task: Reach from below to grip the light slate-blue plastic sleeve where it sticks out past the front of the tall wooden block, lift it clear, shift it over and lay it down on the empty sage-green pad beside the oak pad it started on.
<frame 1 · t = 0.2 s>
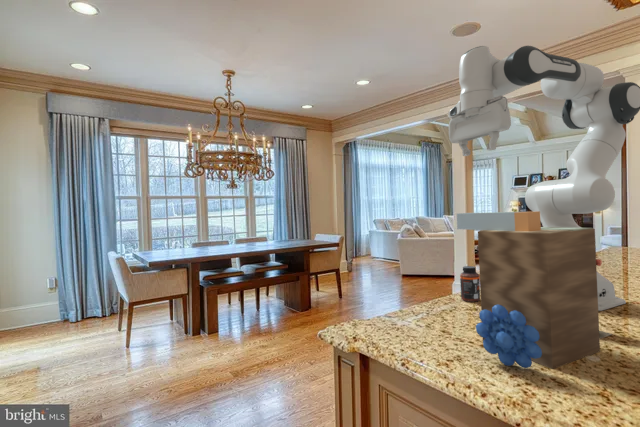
hand: (478, 153, 102), 47 cm above the kitchen island, tool pointing down, fingers open, 8 cm apart
condiment: (584, 333, 86), on the kitchen island
supplement bottle: (470, 300, 119), on the kitchen island
blue flower: (507, 368, 69), on the kitchen island
sleeve: (495, 229, 82), point 26 cm above the kitchen island, touching tall wooden block
tall wooden block: (538, 346, 78), on the kitchen island
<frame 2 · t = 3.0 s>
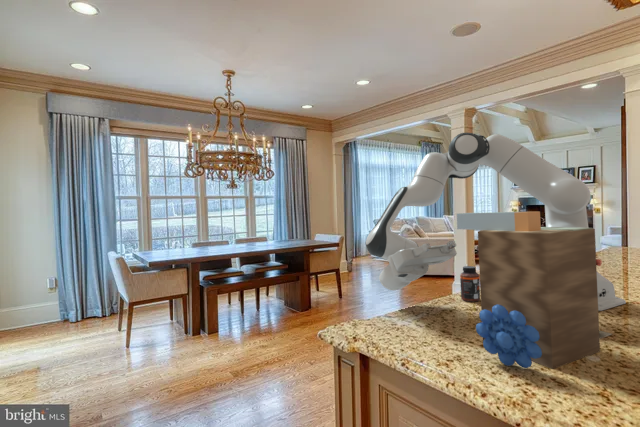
hand: (441, 244, 98), 22 cm above the kitchen island, tool pointing upward, fingers open, 8 cm apart
nothing on the kitchen island moved.
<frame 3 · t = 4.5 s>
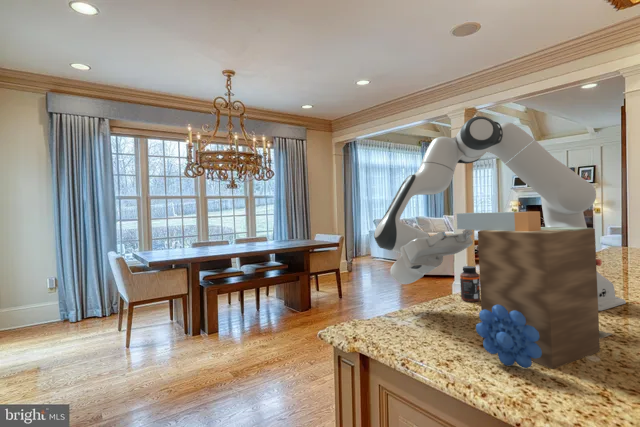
hand: (457, 232, 92), 25 cm above the kitchen island, tool pointing upward, fingers open, 8 cm apart
nothing on the kitchen island moved.
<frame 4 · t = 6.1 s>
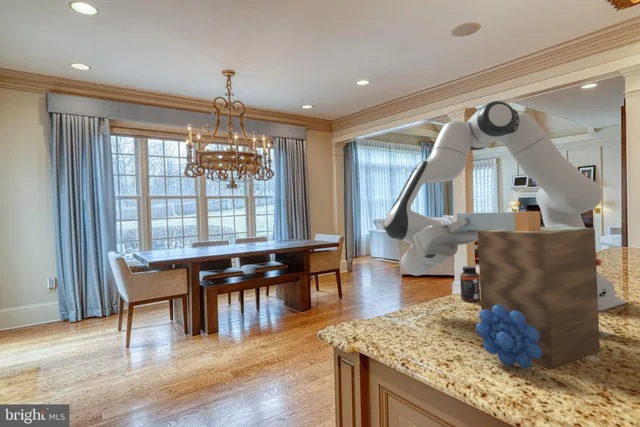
hand: (474, 219, 88), 29 cm above the kitchen island, tool pointing upward, fingers closed on sleeve, 4 cm apart
sleeve: (495, 229, 82), point 26 cm above the kitchen island, touching gripper
everything else where it was.
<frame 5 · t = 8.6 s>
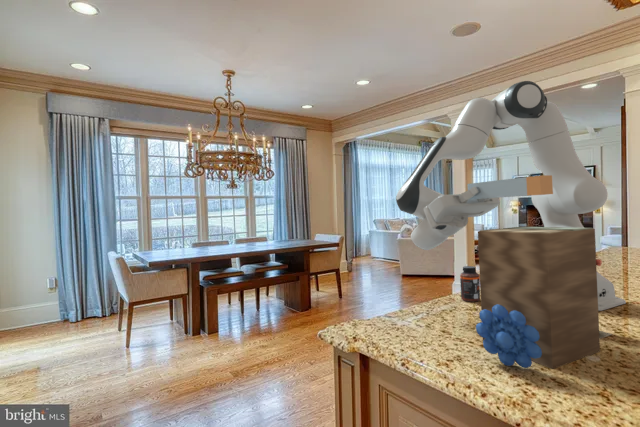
hand: (485, 188, 88), 36 cm above the kitchen island, tool pointing upward, fingers closed on sleeve, 4 cm apart
sleeve: (506, 196, 83), point 34 cm above the kitchen island, touching gripper
everything else where it was.
when the fingers open (30 cm above the kitchen island, at t = 10.7 s): sleeve drops 2 cm, resting on tall wooden block.
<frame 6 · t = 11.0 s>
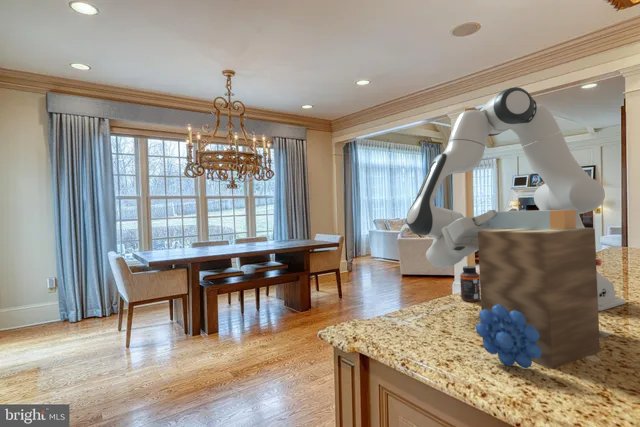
hand: (505, 211, 89), 30 cm above the kitchen island, tool pointing upward, fingers open, 7 cm apart
sleeve: (527, 227, 84), point 26 cm above the kitchen island, touching tall wooden block
everything else where it was.
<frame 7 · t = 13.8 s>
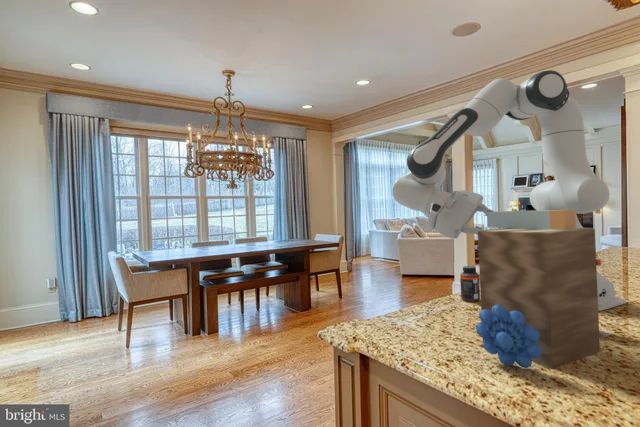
hand: (487, 223, 101), 27 cm above the kitchen island, tool tilted 65°, fingers open, 8 cm apart
nothing on the kitchen island moved.
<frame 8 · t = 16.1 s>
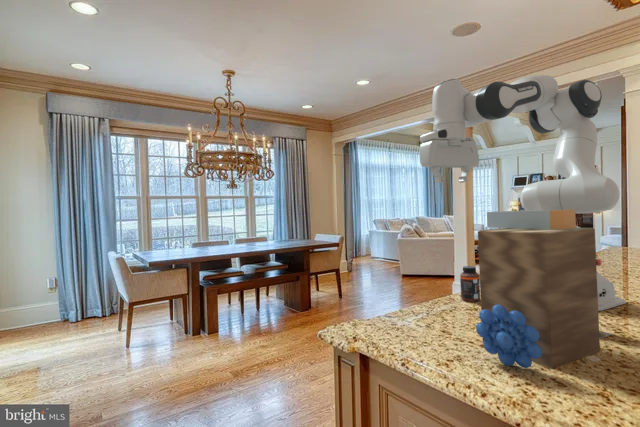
hand: (451, 182, 104), 39 cm above the kitchen island, tool pointing down, fingers open, 8 cm apart
nothing on the kitchen island moved.
at the end: sleeve inside the target area (0.6 cm from its centre), point 26.2 cm above the kitchen island; the gripper is holding nothing; sleeve moved 8.4 cm from its start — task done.
